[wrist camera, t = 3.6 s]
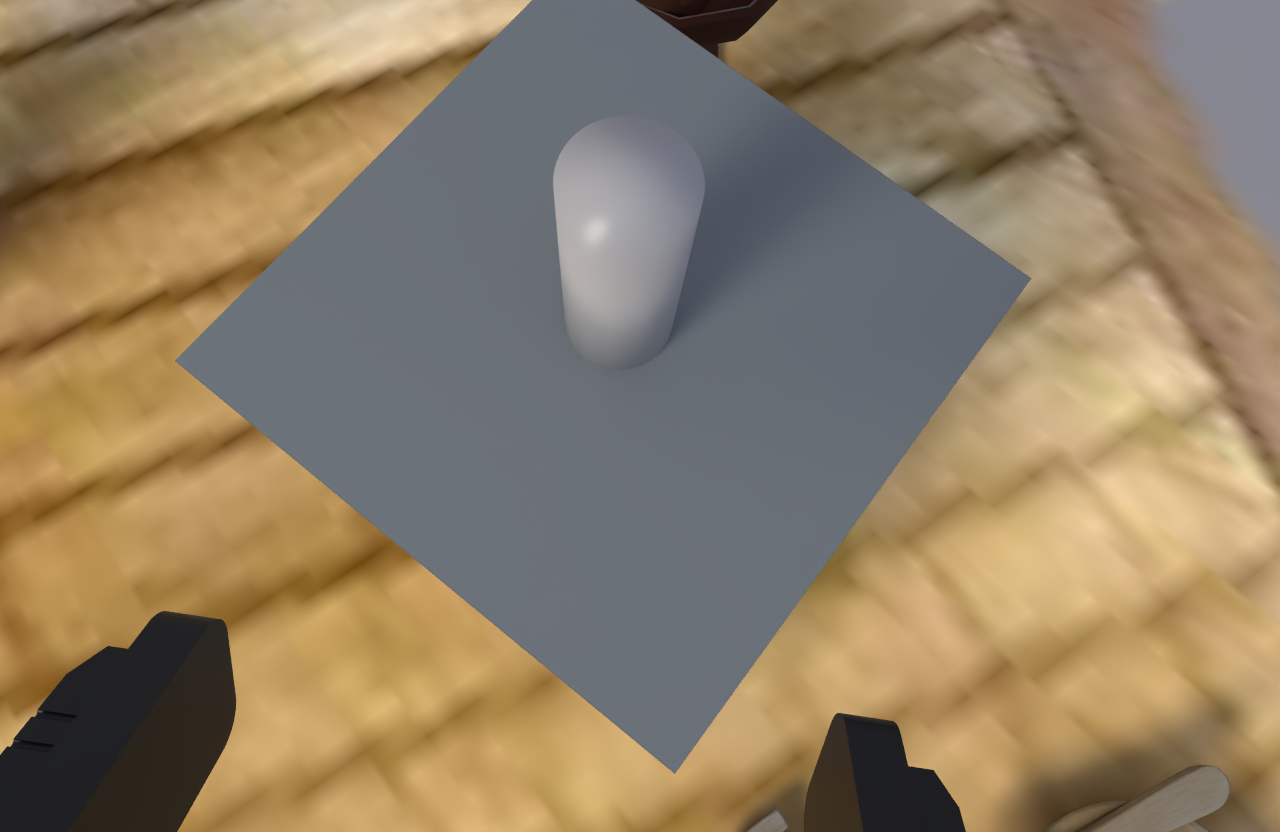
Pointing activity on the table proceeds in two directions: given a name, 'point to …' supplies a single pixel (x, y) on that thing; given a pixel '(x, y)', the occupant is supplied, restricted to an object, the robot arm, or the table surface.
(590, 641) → the cover
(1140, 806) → the tableware set
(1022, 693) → the table surface
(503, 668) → the table surface
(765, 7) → the ice cream bowl
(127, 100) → the table surface
